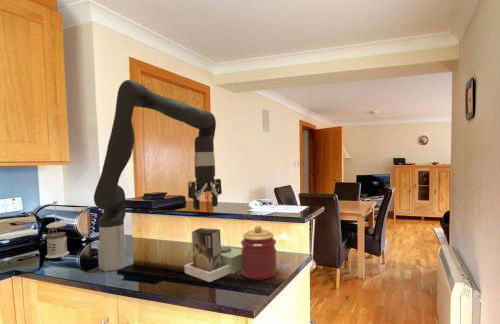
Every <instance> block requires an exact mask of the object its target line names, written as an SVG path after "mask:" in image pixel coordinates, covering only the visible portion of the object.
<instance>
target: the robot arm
mask: <svg viewBox="0 0 500 324" xmlns="http://www.w3.org/2000/svg"><path fill="white" fill-rule="evenodd" d="M115 103H116V104H115V111H114V117H113V122H112V123H113V124H112V128H111V132H110V135H109V139H108V144H107V147H106V154H105V158H104V161H103V165H102V169H101V170H102V171H101V174H100V177H99V179H98V182H97V185H96V188H95V191H94V194H93V201H94V205H95V206H96V207H97V209H99V210H102V212H103V213H102V215H101V216H100V218H99V219H98V230H99V231H98V234H99V235H98V236H99V244H98V245H97V257H98V262H97V263H98V269H99V270H100V271H103V272H105V273H107V272H112V271H118V270H121V269H124V268H125V267H126V265H127V264H126V262H127V261H126V245H125V244H126V243H125V242H126V241H125V217H126V193H125V190H124V189H123V187H122V186H120V185H119V181H120V177H121V175H122V173H123V172H124V170H125V168H126V167H127V164H128V163H129V162H130V160H131V156H132V154H133V150H134V147H135V132H134V128H133V120H132V119H133V114H134V108H135V107H137V108H143V109H144V108H145V109H150V110H153V111H155V112H158V113H161V114H162V115H164V116H166V117H167V118H171V119H173V120H176V121H178V122H182V123H184V124H186V125H188V126H190V127H193V128H195V129H198V136H196V137H195V139H194V158H193V159H194V160H193V161H194V162H193V163H194V178H195V181H188V185H187V187H188V192H187V196H188V197H187V198H189V199H192V200H193V202H192V203H193V205H192V206H193V209H194V210H195V211H200V208H201V205H200V201H201V200H200V198H201V196H202V195H203V193H207V192H208V193H210V195H211V206H212V207H214V208H215V207H217V206H218V204H219V203H218V200H219V199H218V197H219V195H222V193H223V191H222V190H223V189H222V181H221V178H215V177H216V160H215V157H216V156H215V150H214V149H215V148H214V146H215V145H214V139H215V135H216V134H215V133H216V129H217V128H216V127H217V121H216V117H215V115H214V113H212V112H211V111H208V110H204V109H201V108H197V107H194V106H191V105H190V104H188V103H186V102H183V101H180V100H177V99H174V98H170V97H166V96H164V95H161V94H158V93H156V92H155V91H152V89H149V88H148V87H146V86H145V85H143V84H141V83H138V82H137V81H134V80H132V79H126V80H124V81H123V82H122V83H121V84H120V85H119V87H118V90H117V96H116V102H115Z"/></svg>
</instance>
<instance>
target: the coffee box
mask: <svg viewBox="0 0 500 324" xmlns="http://www.w3.org/2000/svg"><path fill="white" fill-rule="evenodd" d="M191 240H192V241H191V242H192V261H193V265H194V267H196V268H199V269H202V270H205V271H208V272H211V271H214V270H216V269H219V268H221V267H222V264H221V245H222V244H221V229H217V228H201V227H200V228H197V229H195V230H193V231H191Z"/></svg>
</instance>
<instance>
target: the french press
mask: <svg viewBox="0 0 500 324" xmlns="http://www.w3.org/2000/svg"><path fill="white" fill-rule="evenodd" d="M52 204H53V205H54V213H55V215H54V216H55V219H54V220H57V213H56V211H57V210H56V205H57V204H58V201H55V200H54V201H53V202H52ZM66 226H67V224H66V223H65V222H63V221H53V222H51V223H49V224H47V225H46V226H45V228H47V229H48V231H52V233H48V234H47V237H46V244H47V245H46V246H47V248H46V249H47V251H46V252H47V254H45V256H44V257H45V258H47V259H55V258H62V257H64V256H67V255H69V254H70V251H68V245H67V244H68V243H67V239H68V238H67V235H66V232H65V231H59V232H58V231H57V228H58V229H59V228H63V227H66ZM54 231H55V232H54Z"/></svg>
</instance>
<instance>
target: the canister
mask: <svg viewBox="0 0 500 324" xmlns="http://www.w3.org/2000/svg"><path fill="white" fill-rule="evenodd" d="M242 238H243V239H242V240H241V241H240V245H242V248H241V249H240V250H241V253H242V270H241V272H242V275H243V276H244V277H245V278H247V279H250V280H259V281H260V280H269V279H271V278H273V277H275V276H276V275H277V271H278V265H277V249H276V243H277V240H276V239H275V238H274V233H273V232H270V231H269V230H268V229H262V226H261V225H256V226H254V229H251V230H248V231H247V232H245V233H243V236H242Z"/></svg>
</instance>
